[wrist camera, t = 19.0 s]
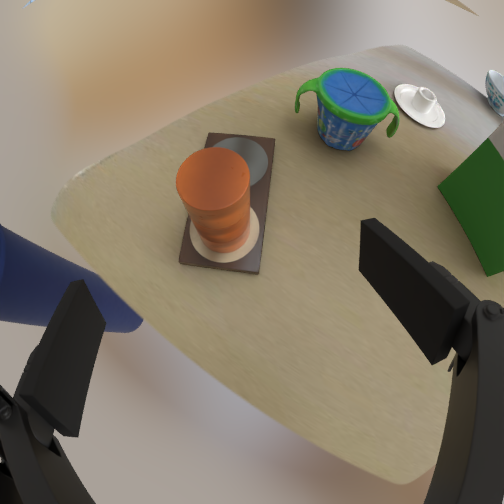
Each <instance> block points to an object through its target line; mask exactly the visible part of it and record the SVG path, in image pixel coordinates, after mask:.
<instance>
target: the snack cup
mask: <svg viewBox="0 0 504 504" xmlns="http://www.w3.org/2000/svg"><path fill="white" fill-rule="evenodd" d="M307 91H314V92H316V94H317V101H318V117H317V129H318V132H319V135H320V137H321V138H322V139H323V140H324V141H325V143H326V144H327V145H328V146H331V147H333V148H336V149H340V150H348V151H349V150H353V149H354V148H356V147H358V146H359V145H360V144H361V143H362V142H363V141H364V140H365V138H366V137H367V136H368V135H369V133H371V131H372V130H373V129H374V128H375V126H376V125H377V124H378V123H379V122H381V121H382V120H384V119H385V117H386V116H387V114H389V113H393V114H394V115H395V116H394V118H393V120H392V122H391V123H390V125H389V126H388V128H387V136H388V137H389V138H390V137H392V136H393V135H394V134H395V132H396V131H397V128H398V126H399V112H398V108H397V106H396V104H395V103H394V102H393V101H392V100H391V99H390V97H389V95H388V93H387V91H386V90H385V88H384V87H383V86H382V85H381V84H380V83H379V82H378V81H376V80H375V79H374V78H372V77H370V76H369V75H367V74H365V73H363V72H360V71H357V70H353V69H348V68H335V69H330V70H328V71H326V72H324V73H323V74H322V75H321V76H320V77H319V78H315V79H312V80H309V81H307V82H306V83H304V84H303V85H302V86H301V87H300V88H299V90H298V92H297V95H296V101H295V112H296V113H298V112H299V108H300V102H299V98H300V95H301V94H303V93H305V92H307Z"/></svg>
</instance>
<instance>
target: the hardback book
mask: <svg viewBox="0 0 504 504" xmlns="http://www.w3.org/2000/svg"><path fill="white" fill-rule="evenodd" d="M437 187H438V188H439V190H440V191H441V193H442V194H443V196H444V197H445V199H446V201H447V202H448V204H449V205H450V207H451V209H452V210H453V212H454V214H455V215H456V217H457V219H458V221H459V222H460V224H461V226H462V228H463V229H464V231H465V233H466V235H467V237H468V239H469V240H470V242H471V244H472V246H473V248H474V250H475V252H476V254H477V256H478V258H479V260H480V262H481V264H482V266H483V268H484V271H485V273H486V275H487V277H488V276H491V275H494V274H497V273H499V272H502V271H504V121H503V122H502V124H501V125H500V126H499V127H498V128H497V129H496V130H495V131H494V132H493V133H492V134H491V135H490V136H489V137H488V138H487V139H486V140H485V141H484V142H483V143H482V144H481V145H480V146H479V147H478V148H477V149H476V150H475V151H474V152H473V153H472V154H471V155H470V156H469V157H468V158H467V159H466V160H465V161H464V162H463V163H462V164H461V165H460V166H459V167H458V168H457V169H456V170H454V171H453V172H452V173H451V174H450V175H449V176H448V177H447V178H446V179H445V180H444V181H443V182H442V183H440V184H439V185H438V186H437Z"/></svg>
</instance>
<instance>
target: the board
mask: <svg viewBox="0 0 504 504" xmlns="http://www.w3.org/2000/svg"><path fill="white" fill-rule="evenodd" d="M274 146H275V139H273V138H265V137H256V136H246V135H235V134H222V133H208V137H207V140H206V144H205V148H210V147H221V148H226V149H229V150H232V151H234V152H236V153H237V154H239V155H240V156H241V157H242V158H243V159H244V160H245V162H246V163H247V165H248V168H249V172H250V233H249V237H248V239H247V241H246V242H245V243H244V245H243V246H242V247H240V248H239V249H237V250H235V251H233V252H230V253H218V252H214V251H212V250H210V249H209V248H207V247H206V246H205V245H204V243H203V242H202V240H201V238H200V236H199V234H198V232H197V230H196V228H195V226H194V224H193V222H192V220H191V218H190V216H189V214H188V218H187V223H186V227H185V232H184V237H183V242H182V247H181V252H180V257H179V263H180V264H185V265H192V266H199V267H206V268H214V269H221V270H228V271H236V272H244V273H251V274H259V268H260V260H261V252H262V245H263V237H264V229H265V221H266V212H267V204H268V196H269V188H270V180H271V171H272V163H273V155H274ZM205 148H204V149H205Z"/></svg>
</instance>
